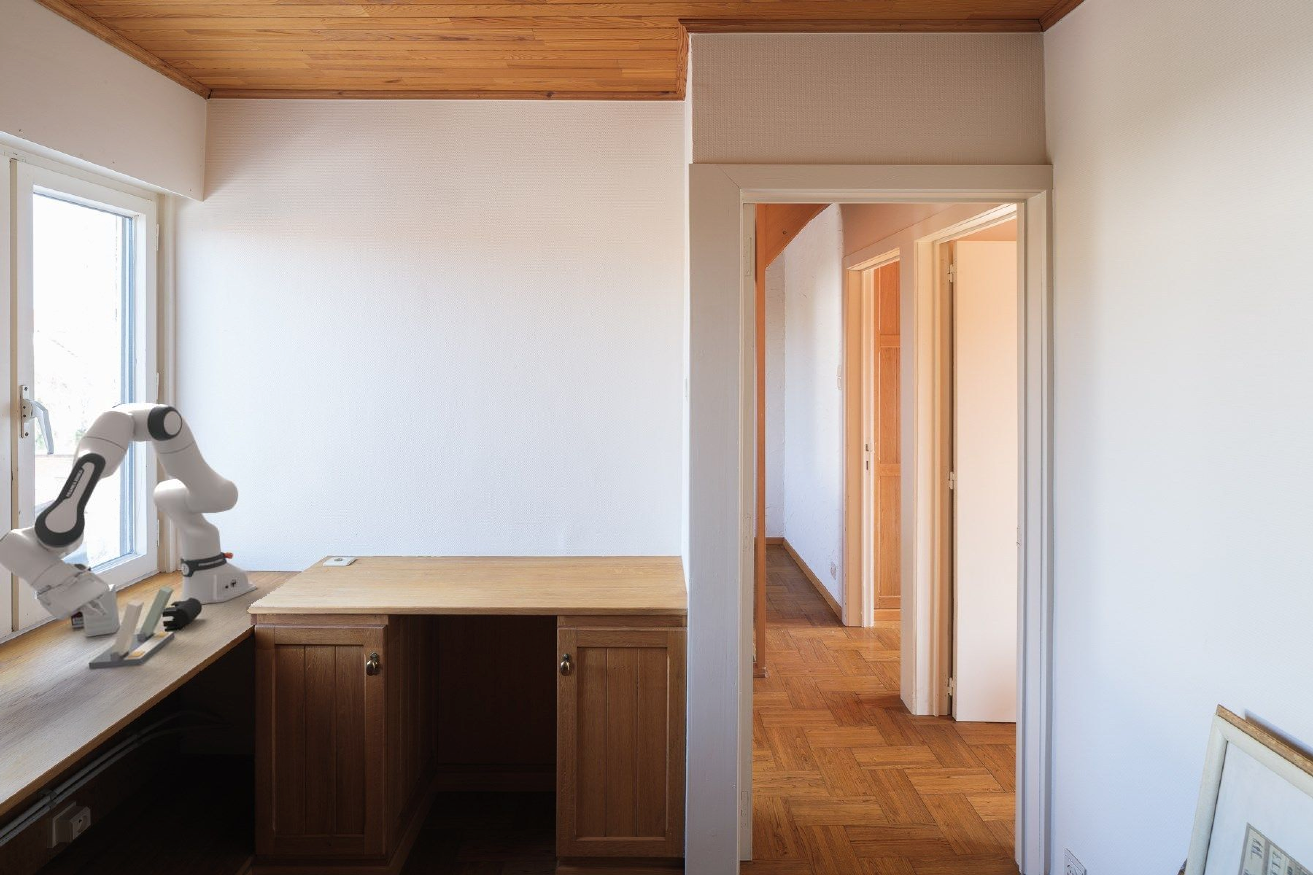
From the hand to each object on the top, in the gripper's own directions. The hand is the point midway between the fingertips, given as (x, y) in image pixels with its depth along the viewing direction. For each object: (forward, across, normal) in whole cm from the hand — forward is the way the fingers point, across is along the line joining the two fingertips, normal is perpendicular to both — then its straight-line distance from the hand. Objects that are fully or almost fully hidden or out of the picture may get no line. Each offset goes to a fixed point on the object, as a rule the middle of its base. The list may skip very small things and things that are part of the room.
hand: (103, 615), depth 209 cm
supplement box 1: (-8, +36, +26) cm, 45 cm away
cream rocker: (+9, 0, +5) cm, 11 cm away
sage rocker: (+9, +14, +5) cm, 18 cm away
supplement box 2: (-1, +26, +19) cm, 33 cm away
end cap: (+14, +27, +4) cm, 31 cm away
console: (+11, +7, +7) cm, 15 cm away
